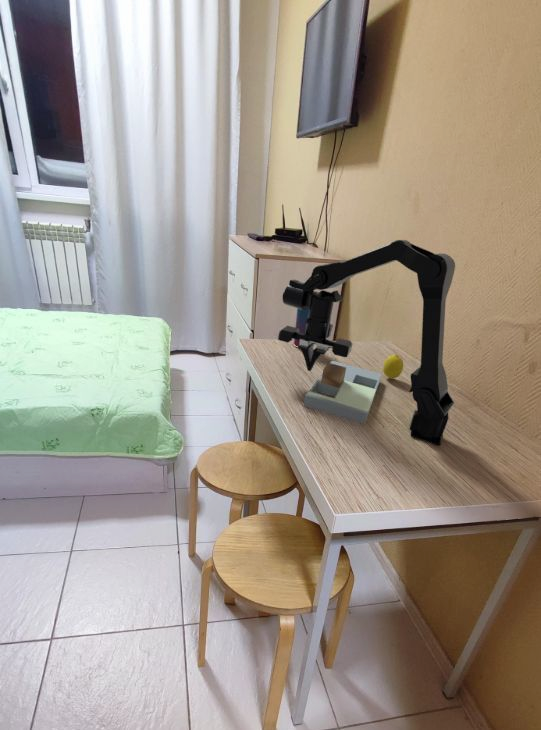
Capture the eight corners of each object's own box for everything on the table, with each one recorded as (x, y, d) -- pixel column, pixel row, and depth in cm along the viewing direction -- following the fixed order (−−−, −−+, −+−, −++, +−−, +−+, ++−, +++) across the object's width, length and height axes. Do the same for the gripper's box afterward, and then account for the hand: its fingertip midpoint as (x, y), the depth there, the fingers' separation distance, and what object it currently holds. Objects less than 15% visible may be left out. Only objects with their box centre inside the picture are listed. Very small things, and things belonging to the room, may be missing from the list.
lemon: (396, 376, 116) (403, 352, 113) (400, 384, 111) (408, 359, 108) (379, 373, 116) (385, 349, 113) (382, 381, 111) (388, 356, 108)
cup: (287, 342, 131) (294, 300, 125) (304, 342, 134) (311, 300, 128) (297, 350, 126) (304, 306, 120) (314, 349, 129) (322, 306, 123)
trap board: (379, 381, 111) (382, 372, 110) (364, 424, 88) (367, 413, 86) (330, 368, 115) (332, 359, 114) (303, 405, 92) (305, 394, 91)
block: (343, 380, 102) (346, 367, 101) (339, 388, 98) (342, 374, 96) (325, 375, 104) (328, 362, 102) (320, 382, 99) (323, 368, 98)
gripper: (361, 316, 100) (349, 369, 106) (295, 301, 106) (287, 352, 112) (353, 326, 90) (340, 384, 97) (281, 309, 96) (273, 365, 102)
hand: (309, 370), depth 102 cm, fingers closed
